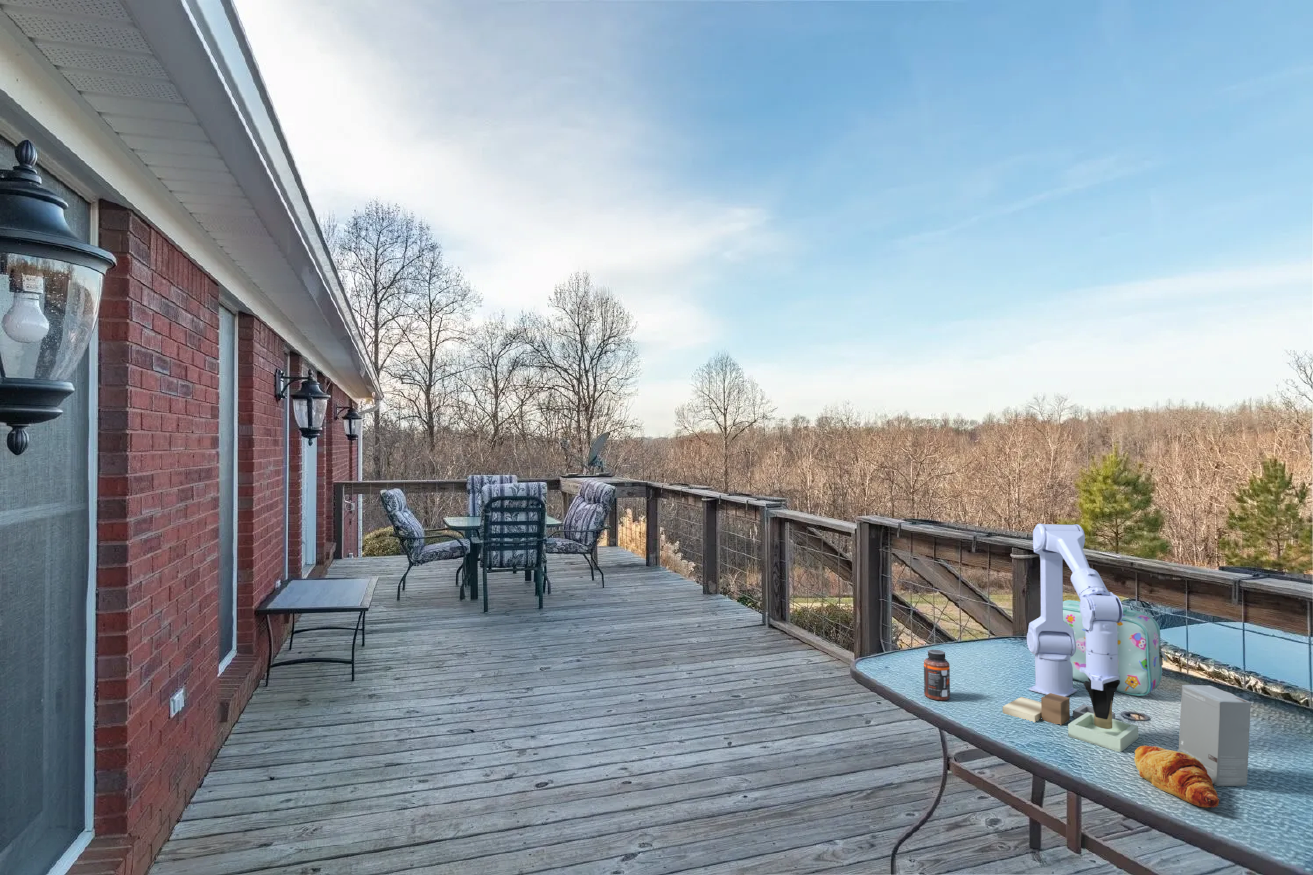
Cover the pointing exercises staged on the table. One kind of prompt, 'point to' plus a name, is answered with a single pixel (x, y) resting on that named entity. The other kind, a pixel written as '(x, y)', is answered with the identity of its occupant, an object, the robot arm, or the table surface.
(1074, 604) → the lunch box
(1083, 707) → the dowel socket
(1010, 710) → the cream flat block
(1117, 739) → the tray
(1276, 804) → the table surface
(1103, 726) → the dowel
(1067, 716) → the brown block
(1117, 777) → the table surface
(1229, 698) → the skincare box
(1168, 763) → the croissant
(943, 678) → the supplement bottle
